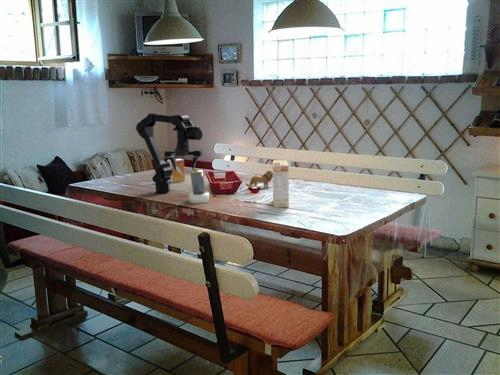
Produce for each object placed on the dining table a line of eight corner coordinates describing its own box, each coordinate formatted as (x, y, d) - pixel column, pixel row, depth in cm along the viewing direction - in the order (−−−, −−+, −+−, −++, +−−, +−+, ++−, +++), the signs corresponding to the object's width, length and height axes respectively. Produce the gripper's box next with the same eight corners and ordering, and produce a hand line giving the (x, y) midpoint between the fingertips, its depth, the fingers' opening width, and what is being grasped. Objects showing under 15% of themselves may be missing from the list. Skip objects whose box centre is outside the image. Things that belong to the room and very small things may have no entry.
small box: (172, 183, 286) (171, 160, 283) (168, 181, 291) (166, 159, 288) (185, 181, 290) (184, 159, 288) (180, 179, 295) (179, 158, 293)
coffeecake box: (273, 200, 239) (272, 160, 235) (287, 199, 238) (287, 159, 234) (273, 207, 224) (272, 165, 220) (289, 207, 224) (288, 165, 220)
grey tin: (190, 193, 239) (187, 171, 237) (199, 190, 244) (196, 169, 241) (199, 194, 235) (196, 172, 233) (208, 191, 240) (205, 169, 237)
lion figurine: (270, 185, 273) (270, 169, 271) (275, 187, 268) (274, 171, 266) (246, 188, 267) (246, 172, 265) (250, 190, 262) (250, 173, 260)
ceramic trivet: (187, 203, 236) (186, 195, 235) (191, 198, 246) (191, 191, 245) (207, 203, 235) (207, 195, 234) (211, 198, 245) (211, 191, 244)
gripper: (160, 141, 241) (162, 173, 245) (197, 141, 239) (199, 172, 243) (166, 139, 252) (168, 169, 255) (202, 138, 250) (203, 168, 253)
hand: (184, 170), depth 251 cm, fingers open, 9 cm apart
